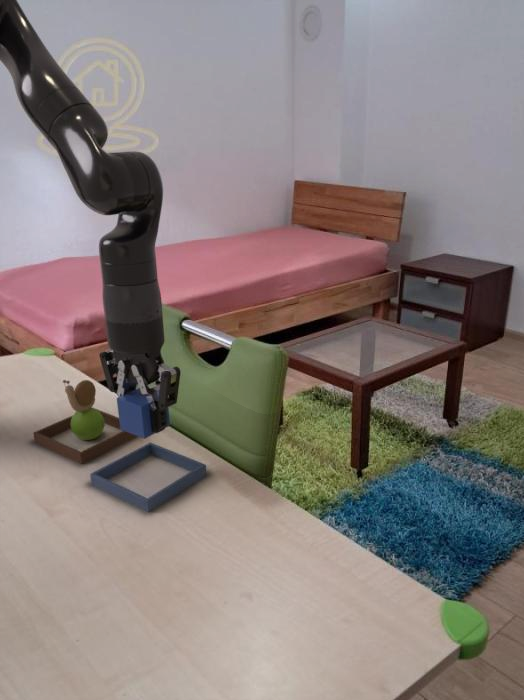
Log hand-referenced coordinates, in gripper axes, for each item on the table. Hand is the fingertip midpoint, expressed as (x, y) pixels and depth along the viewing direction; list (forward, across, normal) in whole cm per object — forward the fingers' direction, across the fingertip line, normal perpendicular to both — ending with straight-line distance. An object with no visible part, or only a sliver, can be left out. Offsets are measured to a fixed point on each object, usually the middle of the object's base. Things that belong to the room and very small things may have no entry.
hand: (144, 424), depth 92 cm
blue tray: (+10, 0, 0) cm, 10 cm away
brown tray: (+10, +18, -3) cm, 21 cm away
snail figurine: (+10, +18, -3) cm, 21 cm away
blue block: (0, 0, 0) cm, 0 cm away
